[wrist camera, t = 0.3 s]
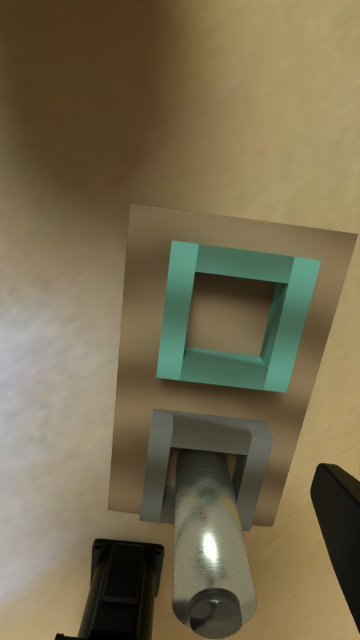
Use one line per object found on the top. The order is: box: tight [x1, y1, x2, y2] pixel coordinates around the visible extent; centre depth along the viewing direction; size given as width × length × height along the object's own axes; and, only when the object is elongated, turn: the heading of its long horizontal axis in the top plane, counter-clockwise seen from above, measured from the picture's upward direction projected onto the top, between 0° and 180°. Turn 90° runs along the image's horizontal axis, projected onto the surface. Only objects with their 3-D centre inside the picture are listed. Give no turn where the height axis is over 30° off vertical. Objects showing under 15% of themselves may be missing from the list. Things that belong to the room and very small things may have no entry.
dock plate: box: [108, 203, 358, 531], centre depth 20 cm, size 24×14×3 cm, turn 173°
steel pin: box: [172, 448, 257, 639], centre depth 17 cm, size 4×4×10 cm
